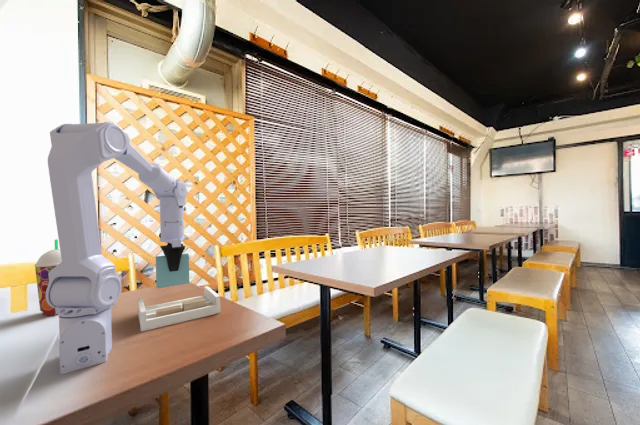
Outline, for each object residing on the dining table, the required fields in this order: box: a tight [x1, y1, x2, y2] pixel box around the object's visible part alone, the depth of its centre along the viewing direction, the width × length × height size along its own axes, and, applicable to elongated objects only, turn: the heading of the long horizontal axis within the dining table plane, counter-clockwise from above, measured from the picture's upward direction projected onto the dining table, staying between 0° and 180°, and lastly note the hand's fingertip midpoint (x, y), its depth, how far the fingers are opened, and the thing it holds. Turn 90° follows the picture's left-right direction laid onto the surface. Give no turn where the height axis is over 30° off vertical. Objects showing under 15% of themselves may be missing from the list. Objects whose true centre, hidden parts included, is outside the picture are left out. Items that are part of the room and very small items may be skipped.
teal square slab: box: [155, 252, 190, 290], centre depth 75 cm, size 2×8×8 cm, turn 127°
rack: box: [137, 286, 221, 332], centre depth 68 cm, size 12×17×5 cm
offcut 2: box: [182, 298, 206, 311], centre depth 67 cm, size 2×5×4 cm, turn 127°
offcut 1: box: [156, 305, 181, 317], centre depth 64 cm, size 2×5×3 cm, turn 127°
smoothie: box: [34, 238, 62, 317], centre depth 74 cm, size 8×8×20 cm
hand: (173, 270), depth 76 cm, fingers closed on teal square slab, 2 cm apart
